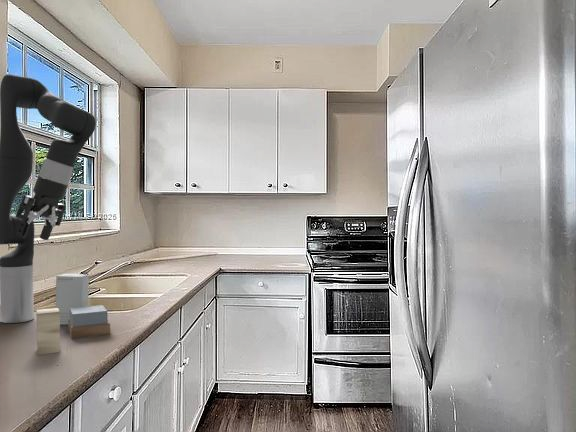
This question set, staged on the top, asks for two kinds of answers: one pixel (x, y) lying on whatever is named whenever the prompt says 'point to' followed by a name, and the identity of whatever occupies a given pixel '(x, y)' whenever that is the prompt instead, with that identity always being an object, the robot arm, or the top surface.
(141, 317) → the top surface
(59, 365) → the top surface
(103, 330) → the walnut base block
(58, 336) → the birch pillar block
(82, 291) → the skincare box
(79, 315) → the slate top block
